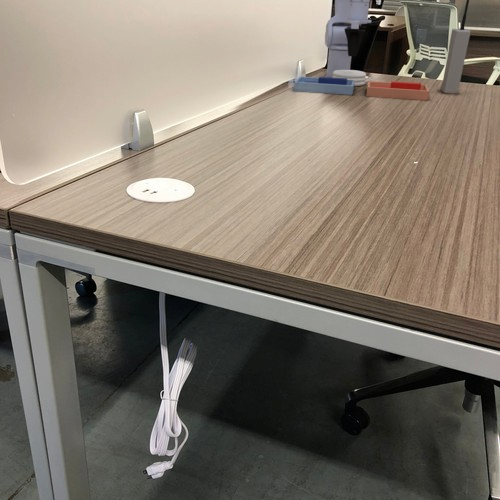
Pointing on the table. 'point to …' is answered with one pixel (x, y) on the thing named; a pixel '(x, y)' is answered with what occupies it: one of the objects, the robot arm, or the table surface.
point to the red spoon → (403, 85)
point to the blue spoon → (330, 81)
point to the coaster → (351, 76)
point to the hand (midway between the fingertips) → (352, 54)
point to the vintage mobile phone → (456, 58)
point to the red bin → (396, 91)
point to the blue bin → (323, 86)
